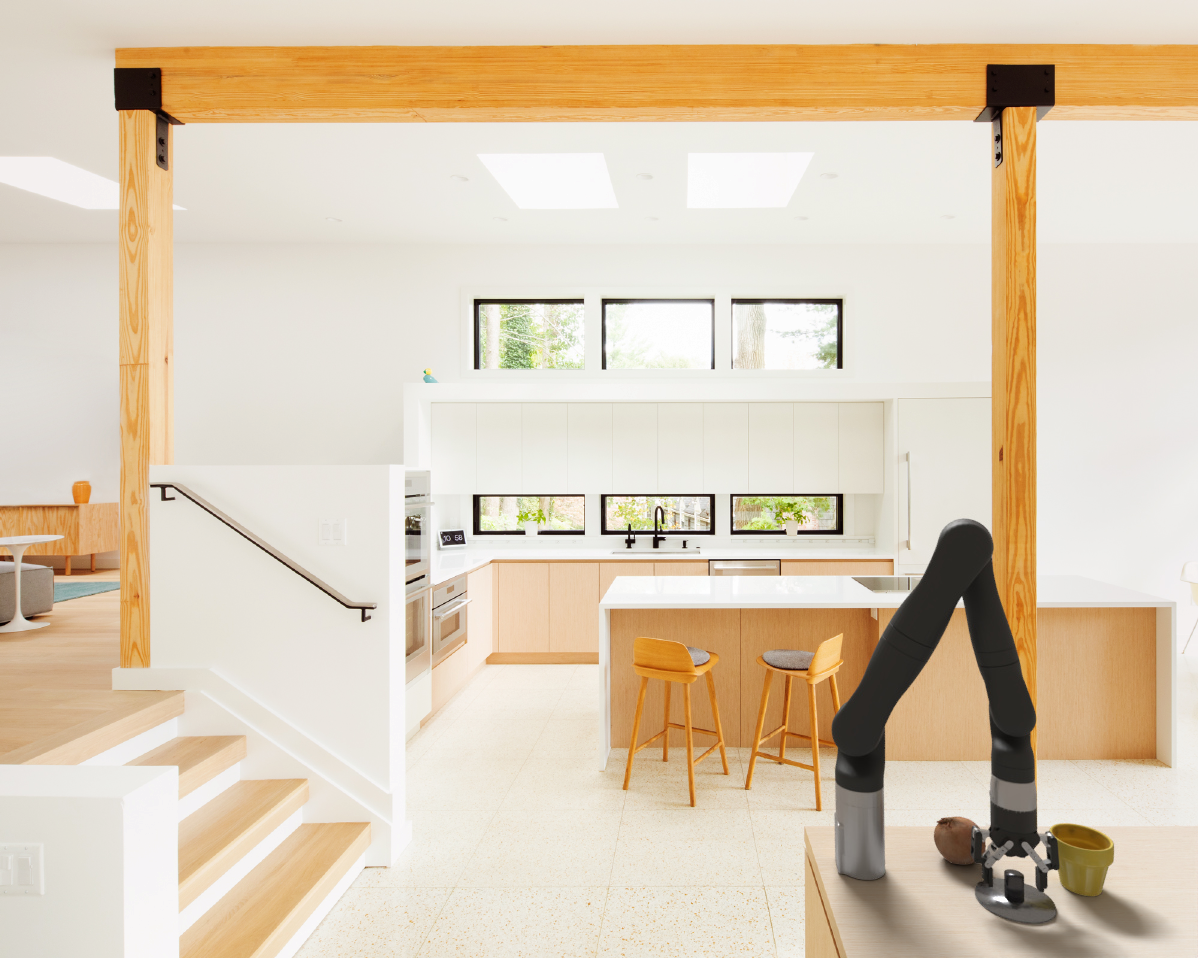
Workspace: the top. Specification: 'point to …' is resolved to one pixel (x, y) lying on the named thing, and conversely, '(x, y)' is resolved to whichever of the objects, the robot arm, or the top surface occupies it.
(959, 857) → the onion
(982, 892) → the lid
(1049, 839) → the robot arm
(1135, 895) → the top surface
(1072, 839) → the plant pot
